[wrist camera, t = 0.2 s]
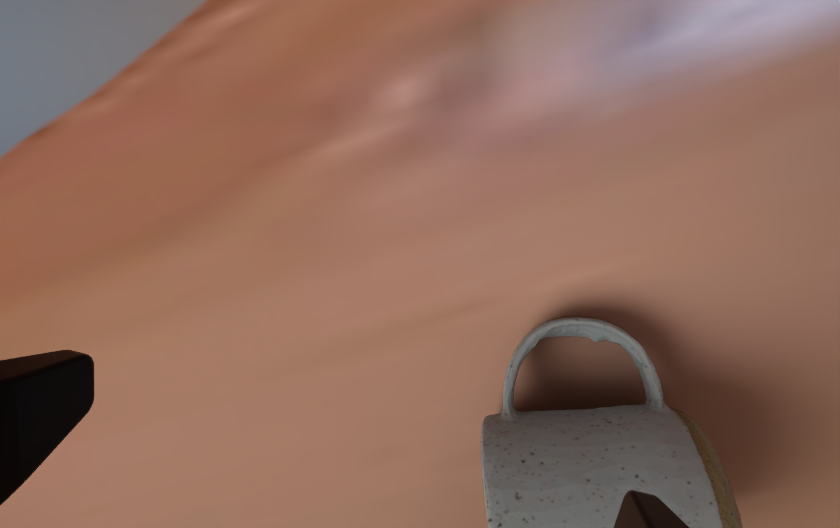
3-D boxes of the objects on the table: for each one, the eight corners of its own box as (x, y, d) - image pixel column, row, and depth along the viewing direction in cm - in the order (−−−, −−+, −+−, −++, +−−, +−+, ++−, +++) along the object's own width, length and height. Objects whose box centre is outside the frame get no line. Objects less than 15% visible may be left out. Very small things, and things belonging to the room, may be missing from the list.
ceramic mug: (694, 517, 23) (777, 695, 16) (510, 529, 25) (509, 695, 18) (665, 292, 21) (747, 380, 14) (465, 322, 23) (444, 414, 16)
